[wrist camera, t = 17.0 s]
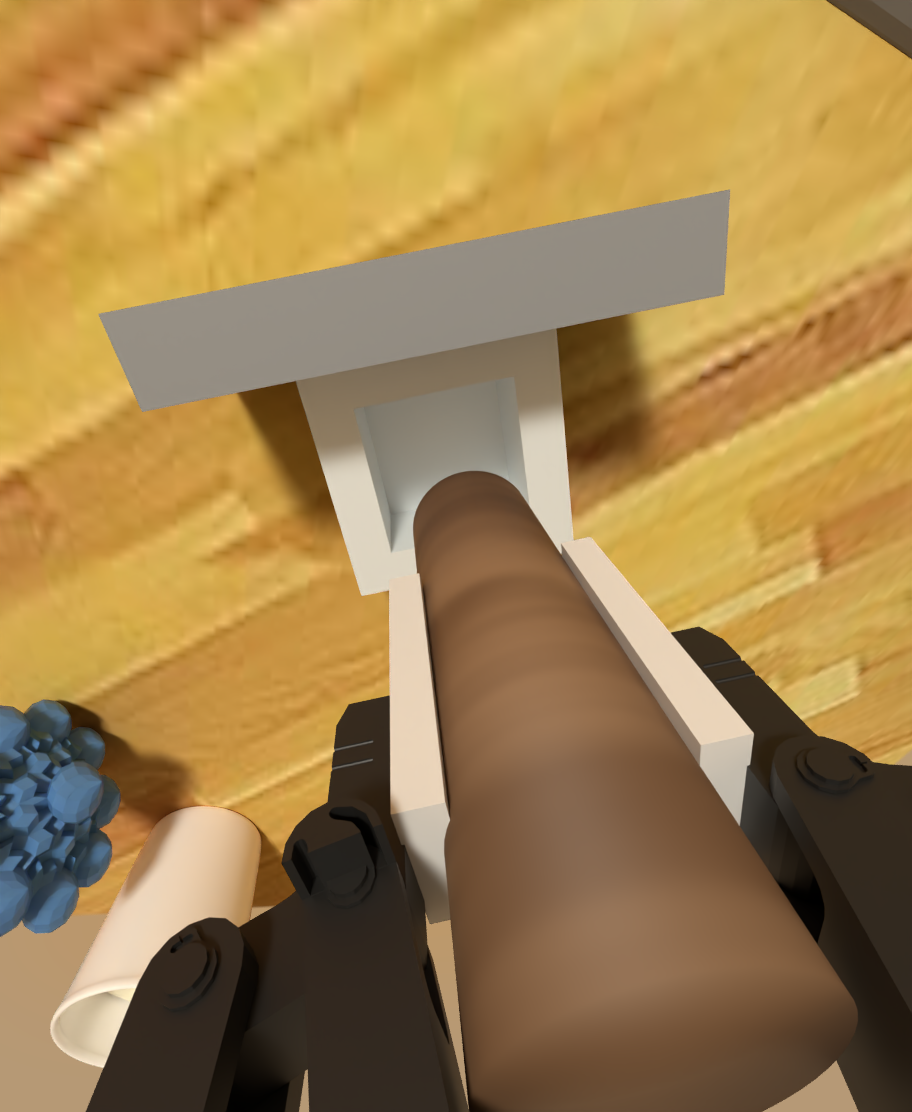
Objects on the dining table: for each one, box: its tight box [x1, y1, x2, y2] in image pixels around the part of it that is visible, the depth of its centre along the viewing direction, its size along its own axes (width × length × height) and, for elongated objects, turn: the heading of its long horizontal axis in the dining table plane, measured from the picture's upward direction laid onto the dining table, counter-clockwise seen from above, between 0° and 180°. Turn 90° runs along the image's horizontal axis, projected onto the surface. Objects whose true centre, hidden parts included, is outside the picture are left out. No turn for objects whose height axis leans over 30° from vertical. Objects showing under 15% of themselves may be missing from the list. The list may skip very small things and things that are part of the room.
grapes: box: [0, 700, 120, 937], centre depth 30 cm, size 12×7×12 cm, turn 22°
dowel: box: [413, 471, 858, 1112], centre depth 12 cm, size 4×4×14 cm
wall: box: [99, 190, 730, 412], centre depth 21 cm, size 3×20×10 cm, turn 100°
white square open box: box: [296, 328, 573, 596], centre depth 27 cm, size 11×11×6 cm
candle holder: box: [50, 806, 261, 1068], centre depth 36 cm, size 10×10×12 cm
